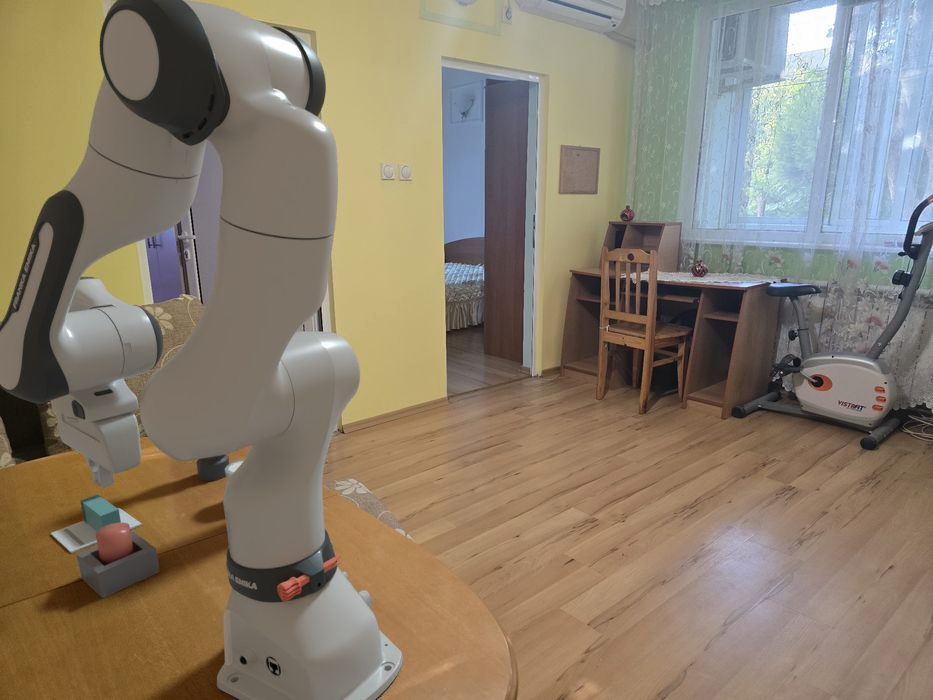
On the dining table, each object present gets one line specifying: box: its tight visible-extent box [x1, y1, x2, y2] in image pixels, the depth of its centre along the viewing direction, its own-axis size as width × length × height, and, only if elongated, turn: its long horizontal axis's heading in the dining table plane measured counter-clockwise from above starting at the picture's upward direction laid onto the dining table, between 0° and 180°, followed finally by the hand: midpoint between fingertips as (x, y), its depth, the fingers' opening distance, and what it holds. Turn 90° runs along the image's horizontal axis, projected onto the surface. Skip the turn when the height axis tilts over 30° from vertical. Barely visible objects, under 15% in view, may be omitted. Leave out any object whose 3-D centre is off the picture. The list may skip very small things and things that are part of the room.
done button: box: [96, 523, 134, 566], centre depth 89 cm, size 4×4×5 cm
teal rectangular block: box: [80, 494, 121, 531], centre depth 104 cm, size 9×3×4 cm, turn 51°
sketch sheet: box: [50, 507, 143, 554], centre depth 103 cm, size 10×11×1 cm
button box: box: [76, 531, 160, 599], centre depth 90 cm, size 8×8×4 cm
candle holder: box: [196, 454, 230, 482], centre depth 121 cm, size 6×6×25 cm
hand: (104, 483), depth 87 cm, fingers closed
